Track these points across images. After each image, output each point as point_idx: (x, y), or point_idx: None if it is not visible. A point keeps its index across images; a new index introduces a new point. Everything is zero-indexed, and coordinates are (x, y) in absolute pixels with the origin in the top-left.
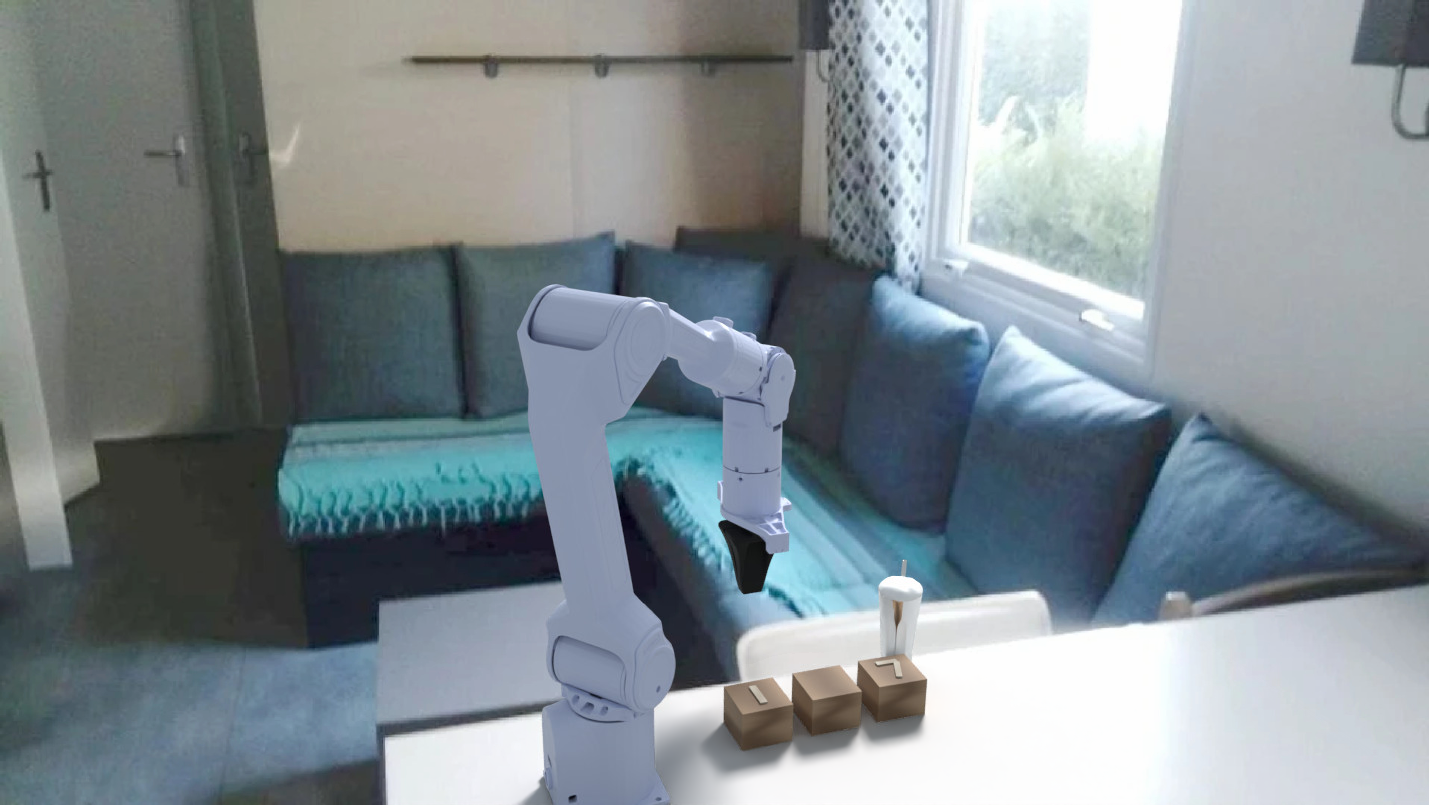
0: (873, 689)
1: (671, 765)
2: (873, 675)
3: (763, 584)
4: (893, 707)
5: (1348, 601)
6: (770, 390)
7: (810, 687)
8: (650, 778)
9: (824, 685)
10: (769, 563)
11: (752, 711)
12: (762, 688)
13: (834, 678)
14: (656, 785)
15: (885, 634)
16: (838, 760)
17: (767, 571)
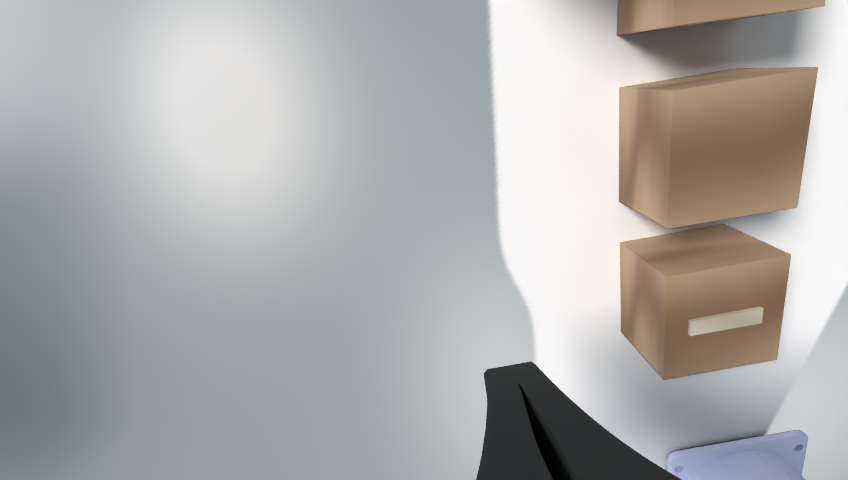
0: (763, 14)
1: (707, 417)
2: (764, 3)
3: (543, 374)
4: None
5: None
6: None
7: (742, 199)
8: (801, 477)
9: (750, 162)
10: (614, 436)
11: (774, 340)
12: (701, 306)
13: (731, 126)
14: (768, 448)
15: None
16: (819, 151)
17: (576, 405)
